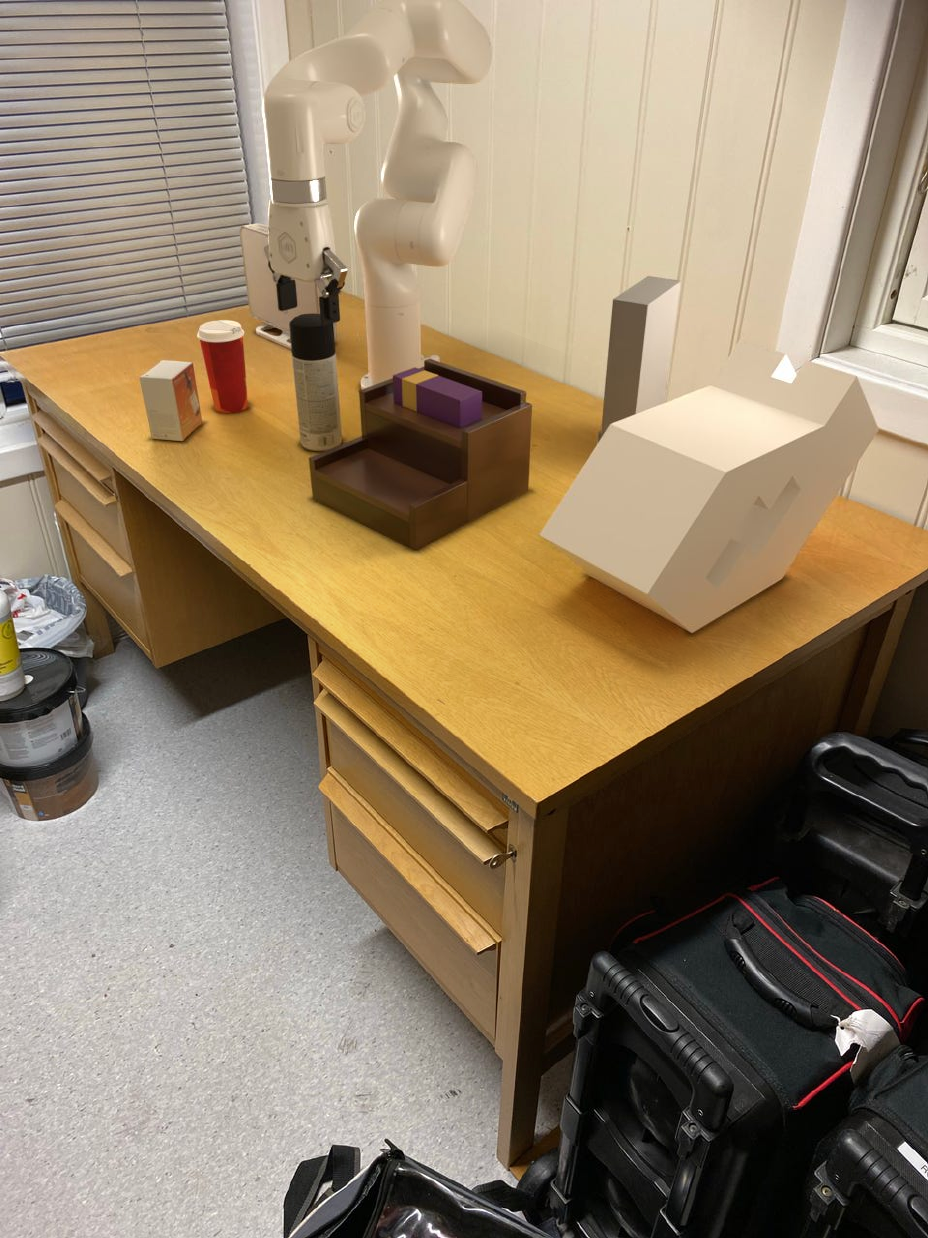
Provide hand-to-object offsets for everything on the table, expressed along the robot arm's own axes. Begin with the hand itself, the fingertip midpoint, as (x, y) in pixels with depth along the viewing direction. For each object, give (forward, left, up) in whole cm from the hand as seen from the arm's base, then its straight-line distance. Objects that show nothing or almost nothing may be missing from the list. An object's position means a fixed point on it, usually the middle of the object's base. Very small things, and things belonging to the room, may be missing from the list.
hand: (309, 315), depth 141 cm
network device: (-29, -43, -21) cm, 56 cm away
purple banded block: (-2, +24, -9) cm, 26 cm away
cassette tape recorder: (-32, +37, -21) cm, 53 cm away
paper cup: (+1, -23, -21) cm, 31 cm away
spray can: (0, 0, -21) cm, 21 cm away
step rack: (+1, +24, -21) cm, 32 cm away
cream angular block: (-9, +64, -21) cm, 68 cm away
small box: (+13, -21, -21) cm, 32 cm away
